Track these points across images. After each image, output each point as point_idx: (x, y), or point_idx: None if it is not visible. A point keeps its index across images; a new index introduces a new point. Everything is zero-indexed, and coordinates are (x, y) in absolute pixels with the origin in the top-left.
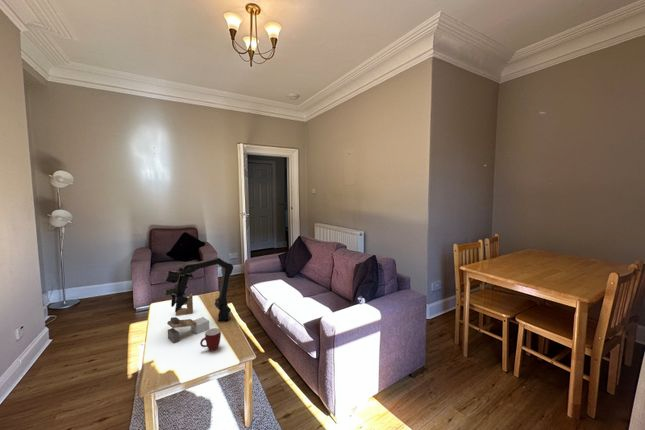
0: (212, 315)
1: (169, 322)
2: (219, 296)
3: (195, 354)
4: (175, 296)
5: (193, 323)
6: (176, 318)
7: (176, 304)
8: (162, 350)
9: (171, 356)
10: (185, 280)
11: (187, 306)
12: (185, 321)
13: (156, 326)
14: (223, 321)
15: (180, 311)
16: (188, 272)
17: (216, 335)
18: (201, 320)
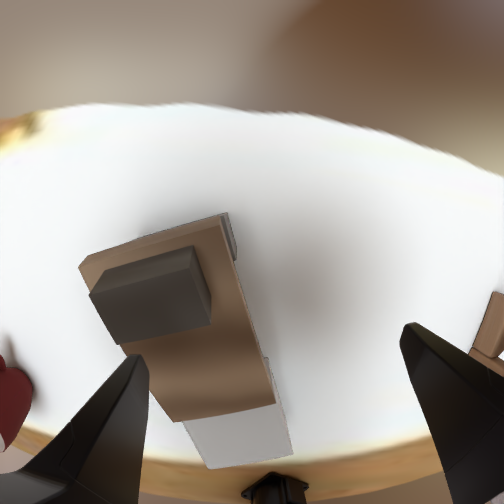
0: (365, 455)
1: (172, 238)
2: None
3: (3, 312)
4: (493, 474)
5: (161, 406)
6: (156, 322)
7: (49, 457)
8: (93, 172)
9: (22, 214)
10: None
11: (497, 370)
12: (208, 371)
13: (442, 175)
14: (252, 486)
15: (497, 322)
16: None
17: None
18: (240, 443)
